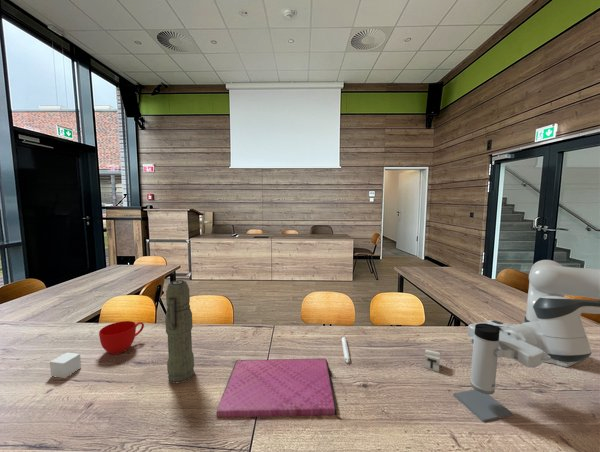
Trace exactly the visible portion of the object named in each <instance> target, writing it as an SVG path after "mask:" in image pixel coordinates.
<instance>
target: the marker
mask: <svg viewBox="0 0 600 452" xmlns="http://www.w3.org/2000/svg"><path fill="white" fill-rule="evenodd" d="M341 344H342V345H341V346H342V351H343V359H344V361H345V363H346V364H349V363H350V360H351V358H350V353H349V347H348V342H347V339H346V337H345V336H343V337H342V338H341Z"/></svg>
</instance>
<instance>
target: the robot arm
mask: <svg viewBox="0 0 600 452" xmlns="http://www.w3.org/2000/svg"><path fill="white" fill-rule="evenodd" d="M528 281H529V282H528V283H529V284H528V292H527V301H526V310H525V311H526V312H525V317H524V319H523V322H522V323H520V324H519V323H517V324H516V323H515V324H513V323H505V322H502V321H498V320H493V319H488V320H487V322H486V321H481V322H474V323H471V324H468V327H467V336H469V337H470V339H469V341H470V343H471V344H473V343H474V333H475V325H477V324H481V323H485V324H491V325H494V326H499V327H500V328H501V330H500V333H499V347H498V349H495V350H494V355H495V356H497V357H498V359H500V358H505V359H506V358H507V359H512V360H514V361H516V362H518V363H520V364H522V365H523V366H525V367H527V368H532V369H533V368H537V367H538V366H541V365H542V364H543V363H546V364H547V363H548V364H552V365H553V364H554V365H557V366H560V367H564V368H569V367H571V366H573V365H575V364H577V363H579V362H582V361H584V360H586V359H588V358H589V357H590V356H591V355H592V349H591V345H590V342H589V340H588V339H589V338H588V336H587V333H586V331H585V327H584V325H583V322H582V319H581V316H582V313H583V314H592V315H593V314H594V315H596V314H597V315H600V268H591V267H589V268H588V267H586V268H585V267H572V266H563V265H562V264H560V263H559V262H558V261H555V260H551V259H541V260H538V261H536V262H535V263H534V264H532V266H531V267H530V270H529V273H528ZM565 296H571V297H580V298H569V297H565ZM581 297H582V298H590V299H581ZM592 299H594V300H592ZM595 299H596V300H595Z"/></svg>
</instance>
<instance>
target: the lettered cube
mask: <svg viewBox="0 0 600 452" xmlns="http://www.w3.org/2000/svg"><path fill="white" fill-rule="evenodd" d="M440 354H441V353H440V352H439V351H435V350H431V349H425V351H424V365H423V366H424V367H423V368H424V369H428V370H431V371H435V372H439V373H440V359H441V357H440V356H441V355H440Z"/></svg>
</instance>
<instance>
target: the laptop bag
mask: <svg viewBox="0 0 600 452" xmlns="http://www.w3.org/2000/svg"><path fill="white" fill-rule="evenodd" d="M333 376H334V377H335V379H336V380H338V378H337V377H336V376H335V375H334V373H333V372H332V370H331V368H330V367H329V365H328V361H327V358H287V359H285V358H283V359H280V358H279V359H277V358H275V359H243V360H241V359H239V360H236V361H235V362H234V366H233V369H232V370H231V373H230V376H229V378H228V380H227V383H226V386H225V387H224V391H223V393H222V395H221V398H220V400H219V403H218V406H217V409H216V414H215V416H216V417H217V418H243V417H245V418H246V417H247V418H249V417H250V418H252V417H253V418H256V417H257V418H258V417H260V418H261V417H262V418H263V417H264V418H265V417H268V418H269V417H313V416H314V417H316V416H317V417H318V416H320V417H321V416H322V417H323V416H336V415H337V404H336V399H335V394H334V389H333V388H334V387H333V384H332V379H331V377H333ZM341 385H342V387H343V389H344V390H345V392H347V390H346V389H345V386H344V385H343V384H341ZM345 395H346V397H348V396H347V394H345ZM344 400H345V401H347V400H348V399H347V398H344Z"/></svg>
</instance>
